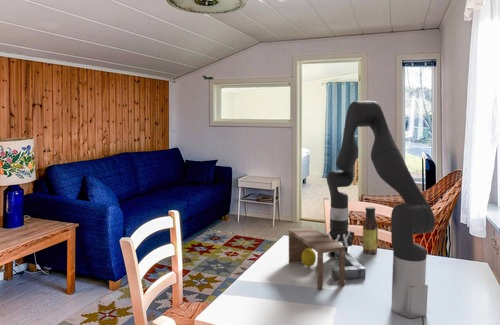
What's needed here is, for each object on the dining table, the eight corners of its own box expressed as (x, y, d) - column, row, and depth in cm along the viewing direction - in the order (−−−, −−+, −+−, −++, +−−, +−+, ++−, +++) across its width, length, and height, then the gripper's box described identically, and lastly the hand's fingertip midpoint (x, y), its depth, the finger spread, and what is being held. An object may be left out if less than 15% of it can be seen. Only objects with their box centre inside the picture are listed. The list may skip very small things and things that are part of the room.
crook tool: (336, 251, 166) (337, 242, 165) (365, 279, 137) (365, 268, 137) (311, 253, 164) (311, 244, 164) (334, 281, 136) (334, 270, 135)
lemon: (315, 264, 151) (315, 245, 150) (316, 270, 145) (316, 250, 144) (301, 264, 151) (301, 245, 150) (301, 270, 146) (301, 250, 145)
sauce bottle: (379, 254, 161) (380, 209, 159) (364, 254, 162) (365, 209, 159) (374, 249, 168) (375, 205, 166) (360, 249, 168) (361, 205, 166)
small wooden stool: (344, 285, 131) (345, 246, 130) (319, 289, 128) (319, 250, 127) (310, 259, 156) (310, 226, 154) (288, 262, 153) (288, 229, 151)
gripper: (328, 221, 150) (327, 262, 152) (359, 218, 154) (358, 257, 156) (319, 216, 157) (319, 255, 159) (349, 213, 161) (348, 251, 163)
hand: (338, 256), depth 158 cm, fingers open, 5 cm apart
